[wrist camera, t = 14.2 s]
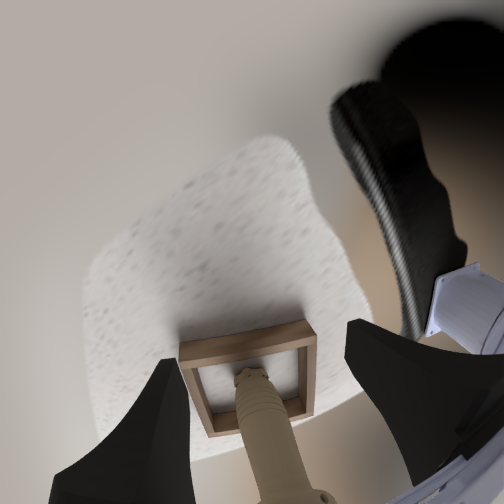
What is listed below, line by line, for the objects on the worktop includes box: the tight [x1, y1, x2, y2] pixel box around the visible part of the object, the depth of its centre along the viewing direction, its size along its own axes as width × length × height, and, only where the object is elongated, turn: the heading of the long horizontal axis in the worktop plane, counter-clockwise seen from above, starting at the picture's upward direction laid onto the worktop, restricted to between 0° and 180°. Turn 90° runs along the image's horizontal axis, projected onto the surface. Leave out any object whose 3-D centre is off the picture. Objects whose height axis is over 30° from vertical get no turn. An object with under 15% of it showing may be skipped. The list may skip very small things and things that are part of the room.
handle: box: [234, 368, 337, 504], centre depth 17 cm, size 5×6×15 cm
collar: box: [179, 319, 317, 438], centre depth 22 cm, size 11×11×3 cm
